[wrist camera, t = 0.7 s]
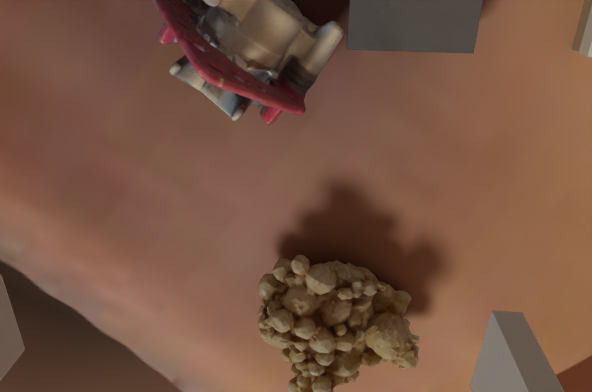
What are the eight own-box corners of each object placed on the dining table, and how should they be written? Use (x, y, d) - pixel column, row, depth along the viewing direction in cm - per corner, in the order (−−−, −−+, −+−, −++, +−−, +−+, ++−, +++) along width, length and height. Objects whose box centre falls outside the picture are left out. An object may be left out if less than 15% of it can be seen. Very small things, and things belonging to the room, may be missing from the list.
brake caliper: (118, 76, 32) (106, -6, 21) (207, -36, 35) (240, -162, 24) (250, 170, 35) (303, 143, 24) (325, 60, 38) (405, -13, 26)
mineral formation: (297, 369, 47) (218, 262, 41) (418, 312, 46) (356, 191, 39) (307, 441, 40) (214, 324, 33) (451, 376, 38) (382, 240, 32)
